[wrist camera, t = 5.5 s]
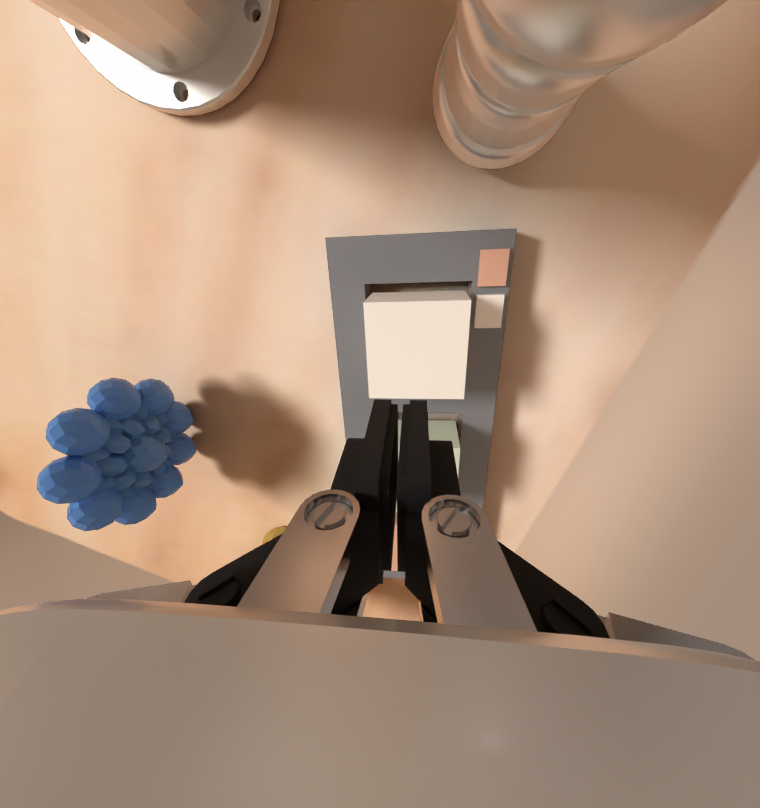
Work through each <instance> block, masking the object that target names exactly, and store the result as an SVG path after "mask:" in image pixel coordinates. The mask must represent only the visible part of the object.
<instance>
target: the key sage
mask: <svg viewBox="0 0 760 808" xmlns="http://www.w3.org/2000/svg"><path fill="white" fill-rule="evenodd" d="M401 423H402V420H400V419H398V460H399V448H400V436H401ZM428 429H429V440H442V441H452V444H453V450H454V456H455V462H456V468H457V475H458V473H459V460H460V444H459V438H458V432H457V427H456V421H454V420H428ZM396 512H397V503H396Z"/></svg>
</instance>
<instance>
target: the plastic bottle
mask: <svg viewBox="0 0 760 808" xmlns="http://www.w3.org/2000/svg"><path fill="white" fill-rule="evenodd" d="M726 1H727V0H457V12H456V17H455V20H454V24H453V27H452V29H451V30H450V32H449V34H448V36H447V39H446V42H445V45H444V47H443V50H442V53H441V56H440V59H439V61H438V64H437V68H436V73H435V78H434V83H433V110H434V118H435V121H436V124H437V127H438V131H439V133H440V135H441V137H442V139H443V141H444V142H445V144H446V146H447V147H448V148H449V149H450V150H451V152H452V153H453V154H454V155H455V156H456V157H457V158H459V159H460V160H461V161H463V162H464V163H466V164H469V165H471V166H473V167H478V168H484V169H498V168H505V167H508V166H512V165H515V164H517V163H519V162H521V161H523V160H525V159H527V158H529V157H530V156H532V155H533V154H534V153H536V152H537V151H539V150H540V149H541V148H542V147H543V146H544V145H545V144H546V143H547V142H548V141H549V140H550V139H551V138H552V137H553V136H554V135H555V133H556V132H557V130H558V129H559V128H560V126H561V125H562V123H563V122H564V121H565V119H566V118H567V116H568V115H569V114H570V112H571V110H572V109H573V107H574V105H575V103H576V101H577V99H578V98H579V97H580V96H581V94H582V93H583V92H584V91H585V90H586V89H587V88H589V87H590V86H591V85H592V84H594V83H595V82H596V81H598V80H599V79H600V78H602V77H603V76H604V75H606V74H608V73H609V72H611V71H613V70H615V69H617V68H619V67H621V66H622V65H624V64H626V63H628V62H630V61H632V60H634V59H635V58H637V57H640V56H641V55H643V54H645V53H647V52H649V51H651V50H653V49H655V48H657V47H658V46H660V45H662V44H664V43H666V42H668V41H670V40H672V39H673V38H675V37H676V36H678V35H679V34H681V33H682V32H684V31H685V30H686V29H688V28H689V27H691V26H692V25H694V24H695V23H697V22H698V21H700V20H702V19H703V18H705V17H706V16H707V15H709V14H710V13H711V12H713V11H714V10H715V9H717V8H718V7H719V6H721V5H722V4H723V3H725V2H726Z"/></svg>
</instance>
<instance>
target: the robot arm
mask: <svg viewBox="0 0 760 808" xmlns="http://www.w3.org/2000/svg"><path fill="white" fill-rule="evenodd" d="M30 1H31V2H33V3H35V4H36V5H38V6H40V7H41V8H43V9H45V10H46V11H48V12H50V13H51V14H53V15H55V16H56V17H58V18H59V20H60V22H61V24H62V26H63V27H64V29H65V30H66V32H67V33H68V34H69V36H70V37H71V39H72V40H73V42H74V43H75V45H76V46H77V48H78V49H79V51H80V52H81V53H82V54H83V55H84V57H85V58H86V59H87V60H88V61H89V62H90V63H91V64H92V66H93V67H94V68H95V69H96V70H97V71H98V72H99V73H100V74H101V75H102V76H103V77H104V78H106V79H107V80H108V81H109V82H110V83H111V84H113V85H114V86H115V87H116V88H117V89H119V90H120V91H121V92H123V93H125V94H127V95H128V96H130V97H132V98H133V99H135V100H137V101H139V102H140V103H143V104H145V105H147V106H149V107H152V108H154V109H156V110H158V111H161V112H165V113H170V114H174V115H179V116H190V115H202V114H205V113H208V112H212V111H215V110H218V109H219V108H221V107H223V106H224V105H226V104H227V103H229V102H231V101H232V100H234V99H235V98H236V97H237V96H238V95H239V94H240V93H241V92H242V91H243V90H244V89H245V88H246V87H247V86H248V84H249V83H250V82H251V80H252V79H253V77H254V75H255V74H256V72H257V71H258V69H259V67H260V66H261V64H262V62H263V60H264V57H265V55H266V52H267V50H268V47H269V44H270V42H271V39H272V37H273V32H274V27H275V23H276V18H277V14H278V9H279V0H30ZM260 14H261V16H260V18H259V20H258V21H257V22H256V18H257V16H258V15H260ZM188 95H189V97H188V99H187V96H188ZM396 503H397V568H398V572H405V586H406V587H407V588H408V589H409V590H410V591H411V592H412V593H413V594H414V595H415V597H416V598H417V599H418V600H419V614H420V621H421V622H419V621H407V620H395V619H383V618H371V617H362V616H363V612H364V609H365V605H366V599H367V593H368V592H369V591H371V590H372V589H373V588H374V587H376V586H377V585H378V584H383V574H384V571H391V568H392V556H393V542H394V529H395V516H396ZM0 808H760V661H756V660H754V659H753V658H751V657H750V656H748V655H747V654H745V653H743V652H742V651H739V650H737V649H734V648H732V647H729V646H727V645H725V644H721V643H718V642H714V641H710V640H707V639H703V638H700V637H696V636H692V635H689V634H685V633H682V632H678V631H675V630H671V629H667V628H664V627H660V626H657V625H653V624H649V623H646V622H642V621H639V620H635V619H631V618H627V617H624V616H621V615H617V614H613V613H610V612H609V613H608V616H607V617H603V616H599V615H597V614H596V613H595V612H594V611H593V610H592V609H591V608H590V607H589V606H588V605H586V604H585V603H584V602H583V601H582V600H580V599H579V598H577V597H576V596H575V595H573V594H572V593H571V592H569V591H568V590H566V589H565V588H563V587H562V586H560V585H559V584H558V583H556V582H555V581H553V580H552V579H551V578H549V577H548V576H546V575H545V574H544V573H542V572H541V571H539V570H538V569H536V568H535V567H534V566H532V565H531V564H530V563H528V562H527V561H525V560H524V559H523V558H521V557H520V556H518V555H517V554H515V553H514V552H513V551H511V550H510V549H508V548H507V547H506V546H504V545H503V544H501V543H500V542H498V541H497V539H496V536H495V534H494V532H493V530H492V527H491V525H490V523H489V520H488V518H487V516H486V514H485V513H484V511H483V510H482V508H481V507H480V506H478V505H477V504H476V503H475V502H473V501H471V500H469V499H467V498H465V497H462V496H461V493H460V487H459V481H458V475H457V468H456V462H455V456H454V450H453V444H452V441H442V440H429V429H428V411H427V400H410V404H403V411H402V423H401V436H400V448H399V460H398V404H392V401H391V400H382V399H374V402H373V406H372V410H371V414H370V418H369V422H368V426H367V430H366V434H365V438H348V439H347V441H346V444H345V447H344V450H343V453H342V456H341V459H340V462H339V465H338V468H337V471H336V474H335V477H334V480H333V483H332V486H331V489H330V490H325V491H321V492H318V493H316V494H313V495H312V496H310V497H309V498H307V499H306V500H305V501H304V502H303V503H302V504H301V506H300V507H299V509H298V510H297V512H296V513H295V515H294V517H293V518H292V520H291V521H290V523H289V525H288V526H287V528H286V529H285V531H284V532H283V533H282V534H280V535H279V536H277V537H275V538H273V539H272V540H270V541H268V542H266V543H265V544H263V545H261V546H259V547H257V548H256V549H254V550H252V551H250V552H249V553H247V554H245V555H243V556H241V557H240V558H238V559H236V560H234V561H233V562H231V563H229V564H227V565H225V566H224V567H222V568H220V569H218V570H217V571H215V572H213V573H211V574H210V575H208V576H207V577H205V578H204V579H203V580H201V581H200V582H199V583H198V584H197V585H193V586H192V584H191V581H184V582H177V583H170V584H163V585H157V586H149V587H143V588H136V589H129V590H123V591H116V592H108V593H102V594H99V595H96V596H92V597H89V598H87V599H75V600H62V601H49V602H43V603H37V604H31V605H25V606H20V607H14V608H9V609H5V610H2V611H0Z"/></svg>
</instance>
